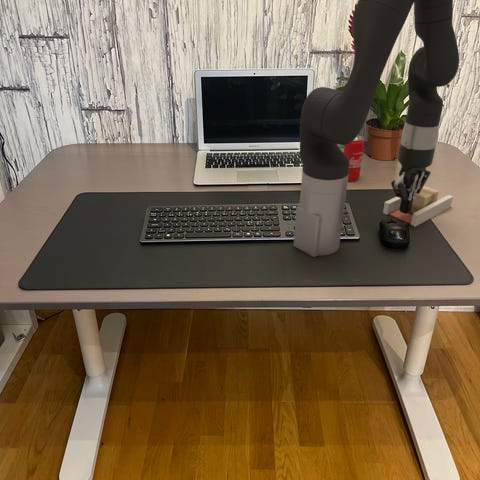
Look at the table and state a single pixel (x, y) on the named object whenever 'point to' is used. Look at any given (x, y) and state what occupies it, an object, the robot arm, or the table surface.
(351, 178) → the beverage can
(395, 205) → the channel
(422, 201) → the maple block
